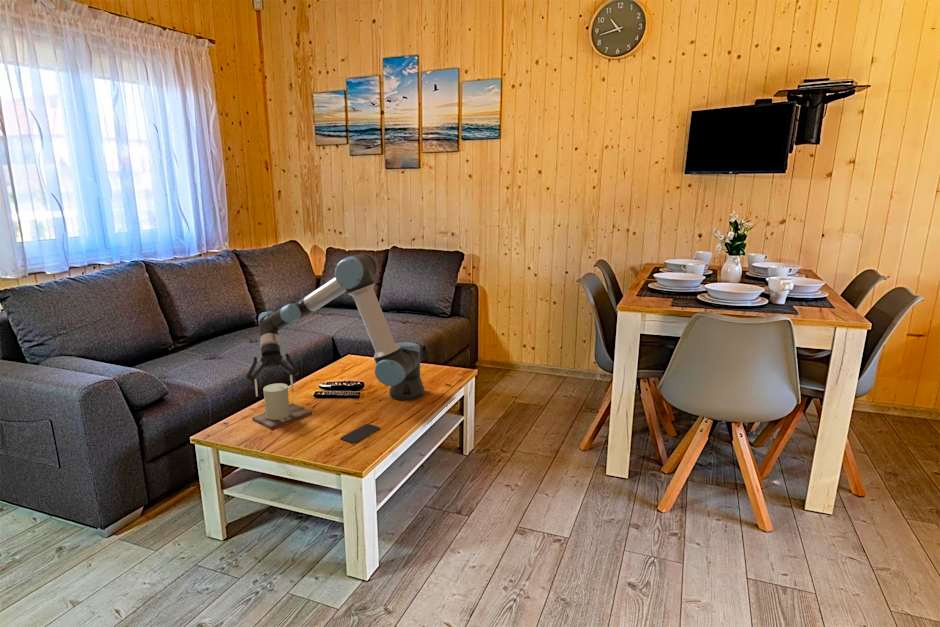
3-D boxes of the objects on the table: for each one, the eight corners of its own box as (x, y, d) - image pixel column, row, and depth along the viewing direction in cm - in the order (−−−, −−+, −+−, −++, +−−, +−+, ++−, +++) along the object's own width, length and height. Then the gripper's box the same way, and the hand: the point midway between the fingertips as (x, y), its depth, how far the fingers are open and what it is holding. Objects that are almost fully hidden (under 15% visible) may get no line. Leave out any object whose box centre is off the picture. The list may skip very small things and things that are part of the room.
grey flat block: (311, 414, 222) (311, 410, 221) (271, 429, 208) (271, 425, 208) (292, 405, 230) (292, 402, 229) (252, 420, 216) (252, 416, 216)
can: (282, 421, 212) (280, 391, 209) (260, 418, 214) (257, 389, 211) (294, 411, 221) (292, 382, 218) (273, 409, 222) (271, 381, 219)
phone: (381, 427, 209) (354, 443, 197) (382, 429, 210) (354, 445, 197) (366, 423, 213) (338, 438, 201) (367, 425, 213) (339, 440, 201)
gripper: (301, 347, 240) (306, 392, 230) (238, 353, 231) (242, 400, 221) (301, 339, 234) (307, 384, 224) (237, 345, 225) (240, 393, 215)
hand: (275, 393), depth 223 cm, fingers open, 13 cm apart
